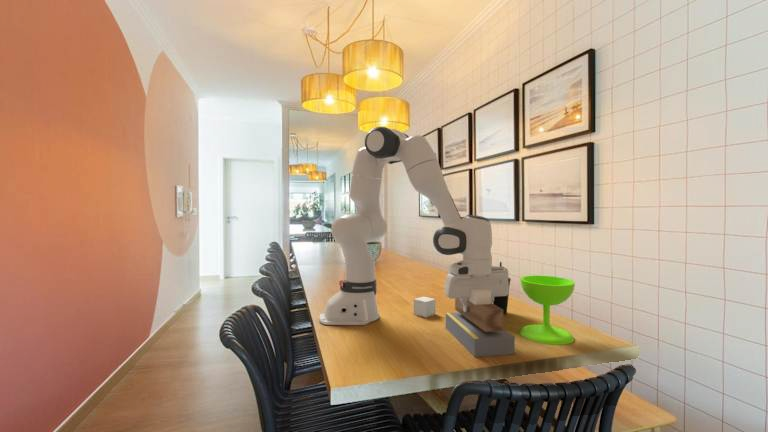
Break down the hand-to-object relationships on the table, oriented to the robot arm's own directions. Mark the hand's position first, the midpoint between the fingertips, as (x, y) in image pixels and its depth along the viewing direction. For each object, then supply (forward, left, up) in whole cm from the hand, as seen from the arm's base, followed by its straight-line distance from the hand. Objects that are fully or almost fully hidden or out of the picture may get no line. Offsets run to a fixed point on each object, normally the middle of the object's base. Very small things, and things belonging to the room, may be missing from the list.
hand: (476, 310), depth 110 cm
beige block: (0, -2, +3) cm, 4 cm away
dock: (0, 0, -9) cm, 9 cm away
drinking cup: (+21, +25, -9) cm, 34 cm away
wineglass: (+24, 0, -9) cm, 26 cm away
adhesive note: (-9, +28, -9) cm, 31 cm away
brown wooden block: (0, 0, -3) cm, 3 cm away
